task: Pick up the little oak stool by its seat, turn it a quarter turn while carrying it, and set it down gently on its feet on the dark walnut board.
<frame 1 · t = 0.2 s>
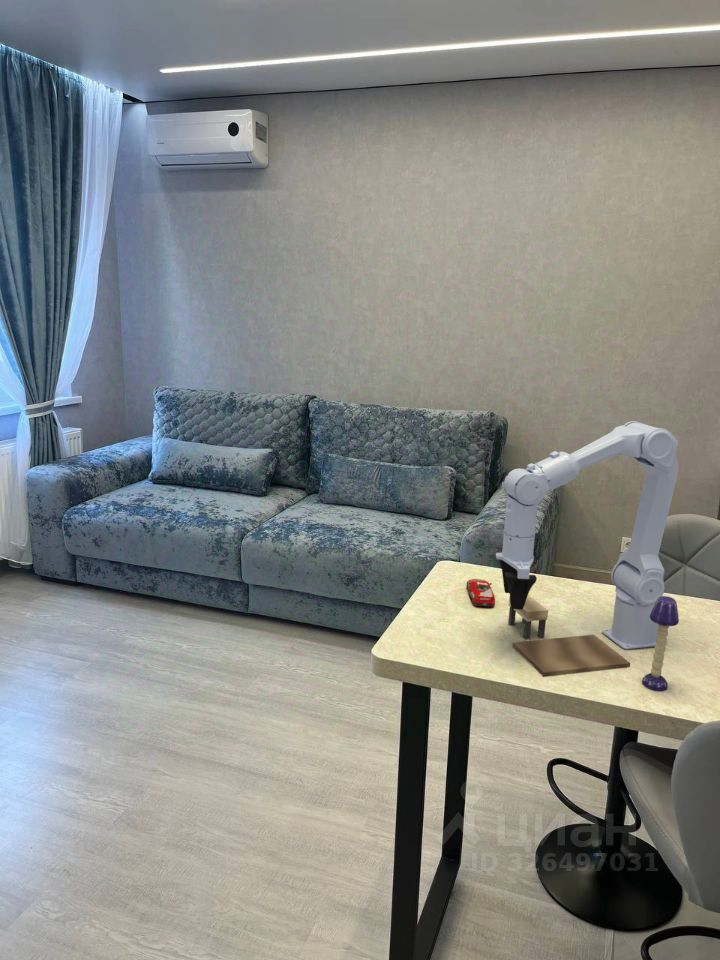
hand: (513, 600, 136), 10 cm above the table, tool pointing down, fingers open, 7 cm apart
toy lamp: (653, 686, 126), on the table
race car: (480, 598, 162), on the table
walnut board: (569, 656, 135), on the table
oak stool: (525, 630, 146), on the table
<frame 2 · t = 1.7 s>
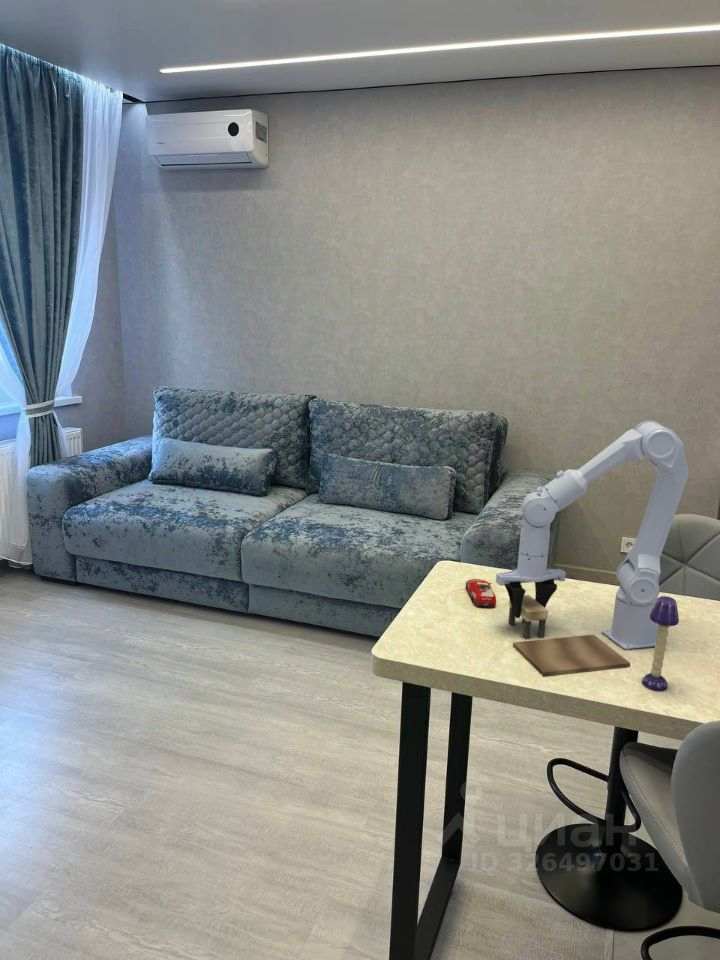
hand: (527, 615, 145), 3 cm above the table, tool pointing down, fingers closed on oak stool, 4 cm apart
oak stool: (525, 630, 146), on the table, touching gripper
everything else where it was.
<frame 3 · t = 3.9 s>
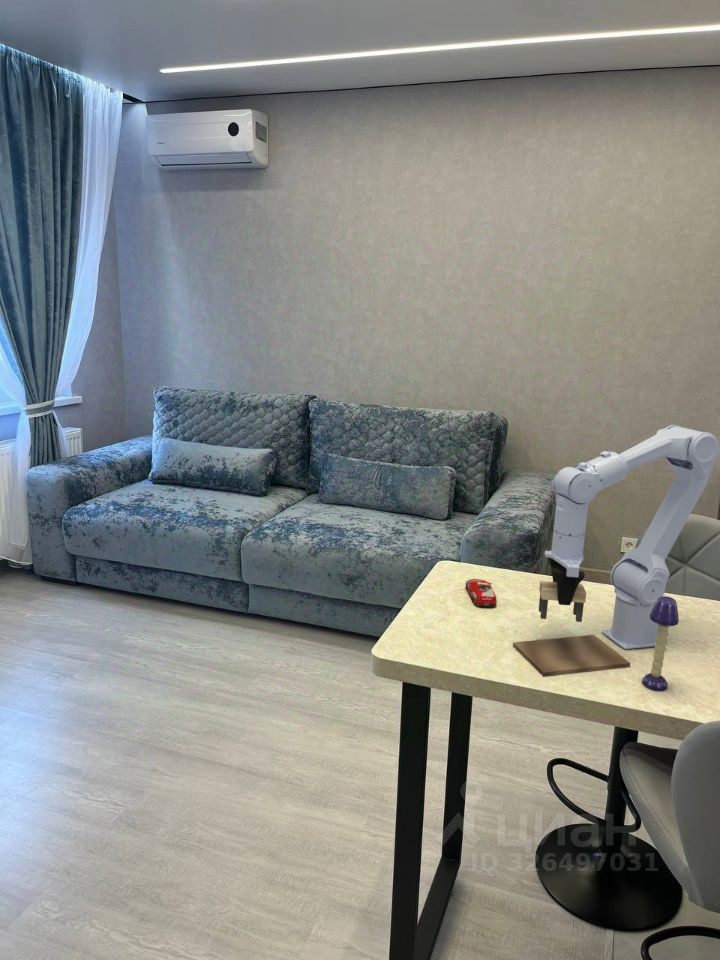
hand: (562, 599, 136), 10 cm above the table, tool pointing down, fingers closed on oak stool, 4 cm apart
oak stool: (559, 615, 137), point 7 cm above the table, touching gripper
everything else where it was.
when the fingers open (5 cm above the table, at t = 6.3 s): oak stool stays where it is, resting on walnut board.
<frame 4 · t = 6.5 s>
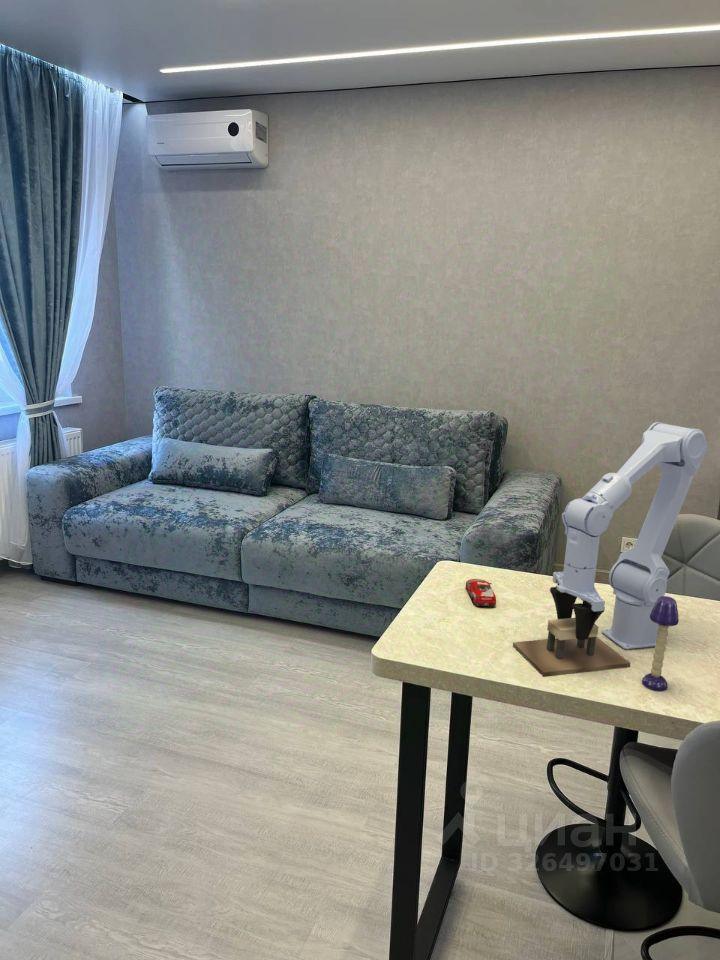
hand: (572, 631, 134), 5 cm above the table, tool pointing down, fingers open, 6 cm apart
oak stool: (570, 652, 135), point 1 cm above the table, touching walnut board
everything else where it was.
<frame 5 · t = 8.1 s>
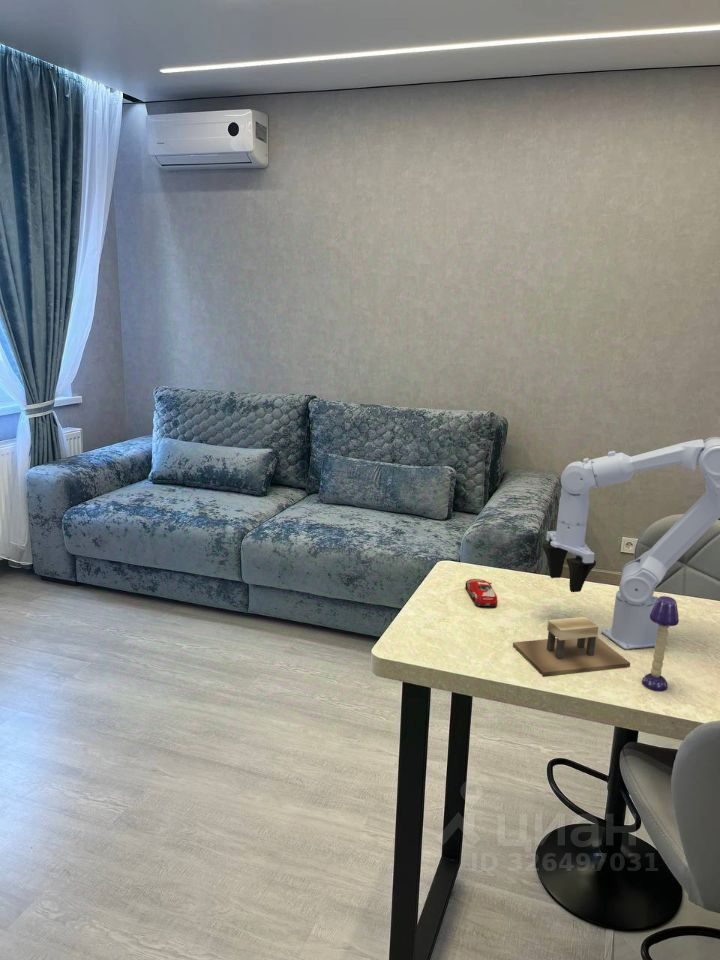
hand: (565, 584, 146), 9 cm above the table, tool pointing down, fingers open, 7 cm apart
nothing on the table moved.
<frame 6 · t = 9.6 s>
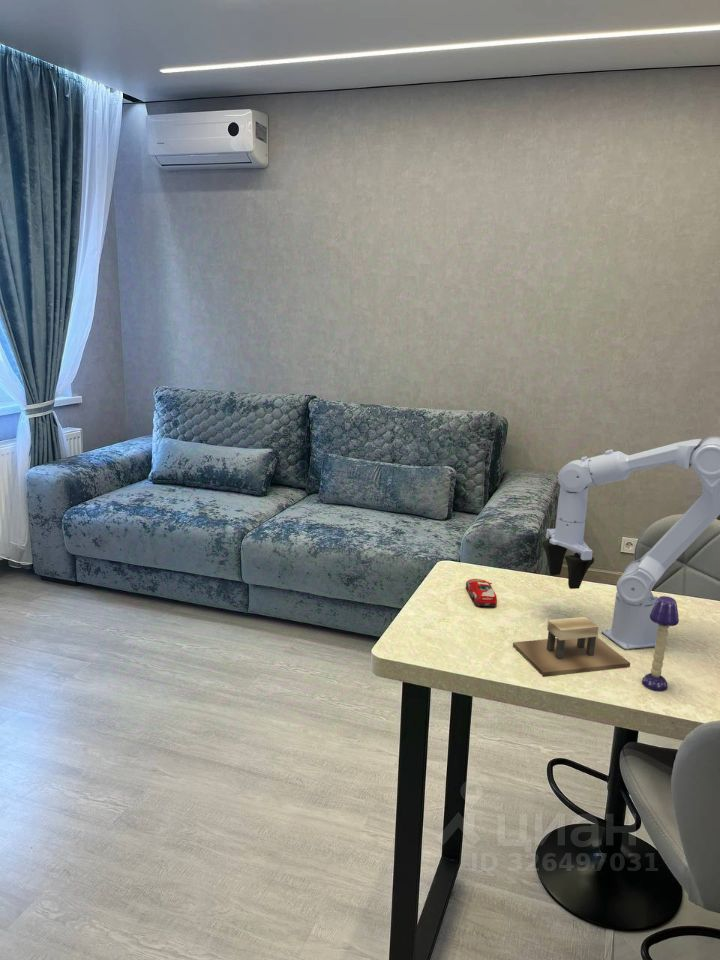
hand: (564, 581, 148), 9 cm above the table, tool pointing down, fingers open, 7 cm apart
nothing on the table moved.
at the end: oak stool inside the target area on the walnut board (0.0 cm from its centre), point 0.8 cm above the walnut board's base; oak stool tilted 0°; the gripper is holding nothing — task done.
